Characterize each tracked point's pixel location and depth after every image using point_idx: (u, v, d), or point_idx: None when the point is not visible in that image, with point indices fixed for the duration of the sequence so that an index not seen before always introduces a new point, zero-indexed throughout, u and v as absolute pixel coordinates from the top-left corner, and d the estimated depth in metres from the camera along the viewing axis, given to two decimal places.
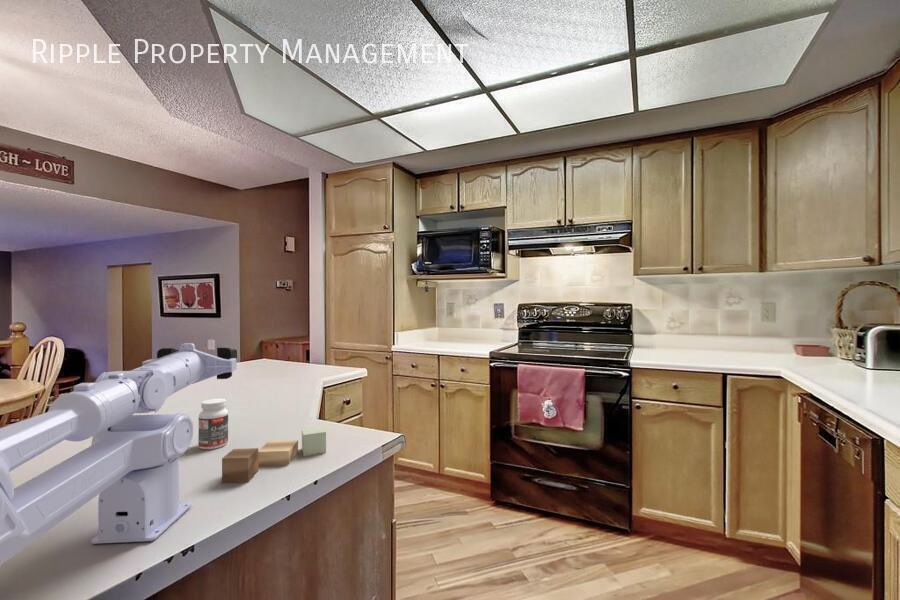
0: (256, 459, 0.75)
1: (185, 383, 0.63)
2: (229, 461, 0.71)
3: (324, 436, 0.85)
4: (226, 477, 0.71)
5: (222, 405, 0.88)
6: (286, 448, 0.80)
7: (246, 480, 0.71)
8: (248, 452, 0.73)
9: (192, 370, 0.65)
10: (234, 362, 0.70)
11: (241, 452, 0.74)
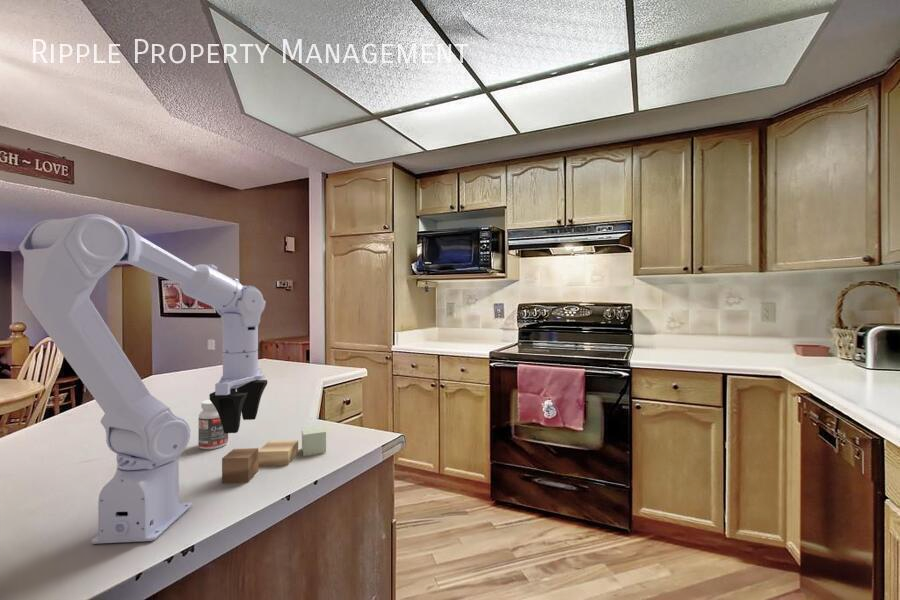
0: (256, 459, 0.75)
1: (244, 347, 0.71)
2: (229, 461, 0.71)
3: (324, 436, 0.85)
4: (226, 477, 0.71)
5: None
6: (286, 448, 0.80)
7: (246, 480, 0.71)
8: (248, 452, 0.73)
9: (235, 357, 0.70)
10: (224, 390, 0.66)
11: (241, 452, 0.74)
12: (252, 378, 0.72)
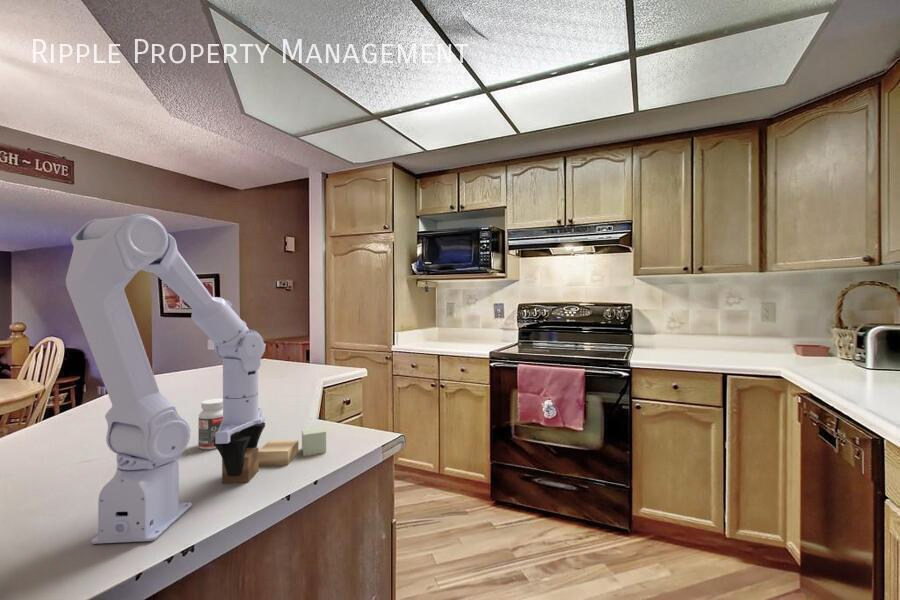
0: (256, 458, 0.75)
1: (244, 392, 0.71)
2: None
3: (324, 436, 0.85)
4: (226, 476, 0.71)
5: (222, 405, 0.88)
6: (286, 448, 0.80)
7: (246, 479, 0.71)
8: (248, 452, 0.73)
9: (235, 402, 0.70)
10: (224, 438, 0.66)
11: None
12: (252, 423, 0.72)
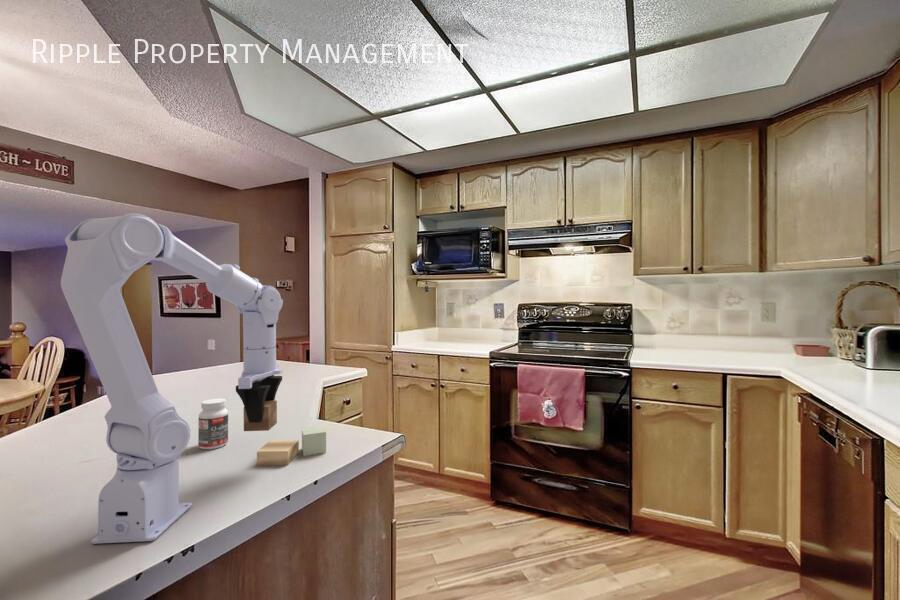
0: (275, 410, 0.79)
1: (264, 344, 0.75)
2: None
3: (324, 436, 0.85)
4: (247, 425, 0.75)
5: (222, 405, 0.88)
6: (286, 448, 0.80)
7: (266, 428, 0.75)
8: (267, 403, 0.77)
9: (256, 352, 0.74)
10: (246, 384, 0.70)
11: None
12: (271, 373, 0.76)
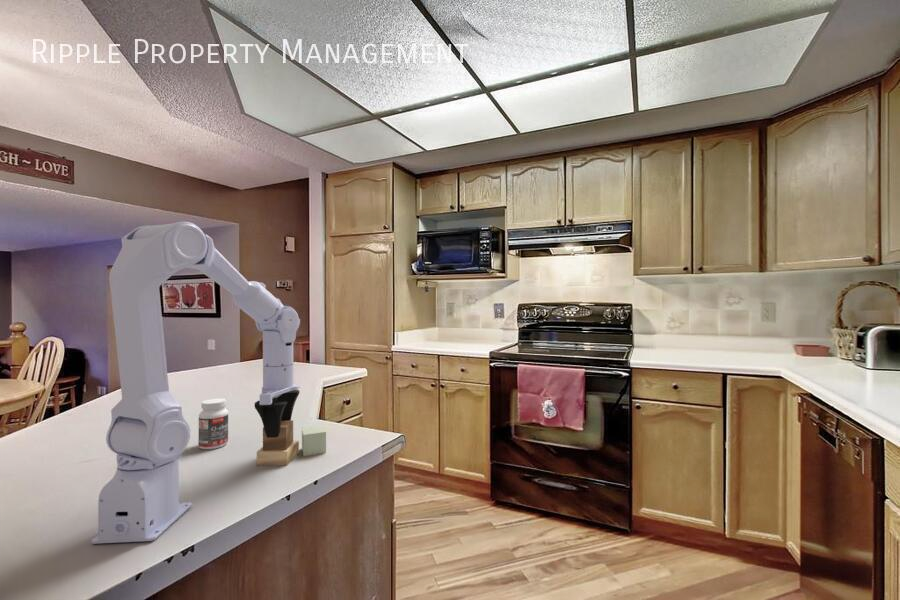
0: (291, 430, 0.83)
1: (282, 361, 0.79)
2: None
3: (324, 436, 0.85)
4: (266, 444, 0.79)
5: (222, 405, 0.88)
6: None
7: (284, 447, 0.79)
8: (285, 423, 0.81)
9: (275, 370, 0.79)
10: (267, 400, 0.74)
11: None
12: (289, 389, 0.80)
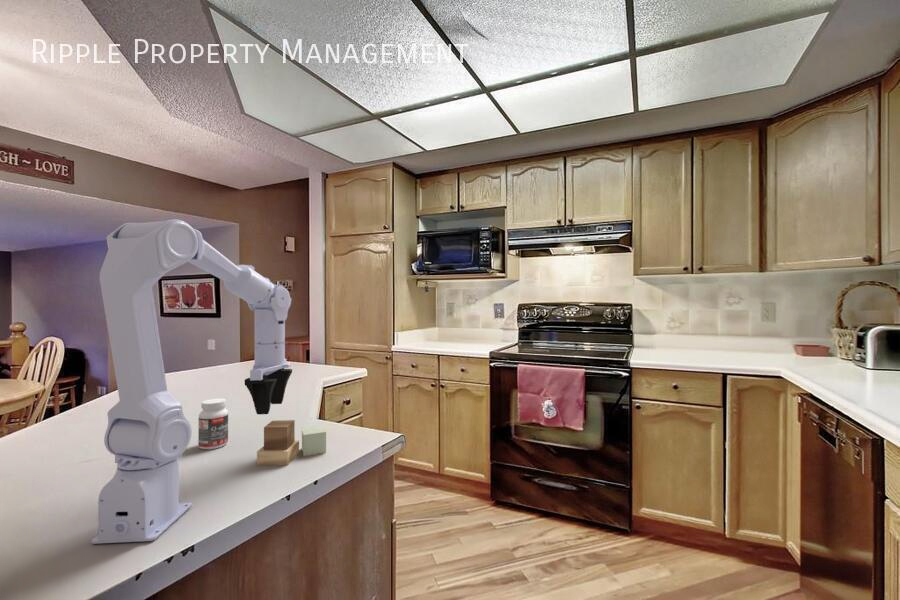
0: (293, 430, 0.83)
1: (275, 339, 0.81)
2: (270, 430, 0.79)
3: (324, 436, 0.85)
4: (267, 444, 0.79)
5: (222, 405, 0.88)
6: None
7: (285, 447, 0.79)
8: (286, 423, 0.82)
9: (266, 347, 0.80)
10: (257, 375, 0.75)
11: (280, 422, 0.82)
12: (280, 366, 0.81)
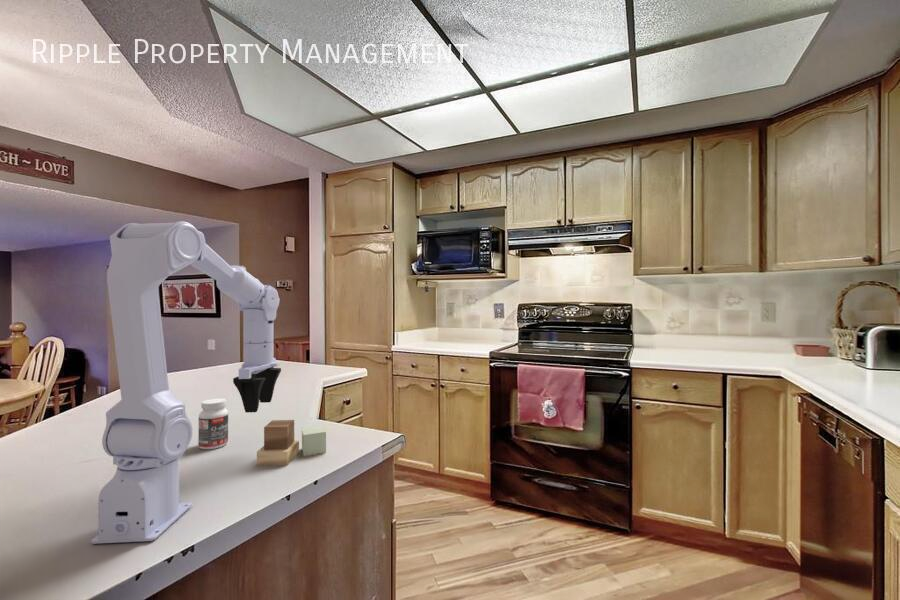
0: (292, 429, 0.83)
1: (265, 338, 0.82)
2: (270, 429, 0.79)
3: (324, 436, 0.85)
4: (268, 444, 0.79)
5: (222, 405, 0.88)
6: (285, 449, 0.80)
7: (285, 447, 0.80)
8: (286, 423, 0.82)
9: (255, 346, 0.81)
10: (246, 374, 0.77)
11: (280, 422, 0.82)
12: (269, 365, 0.83)
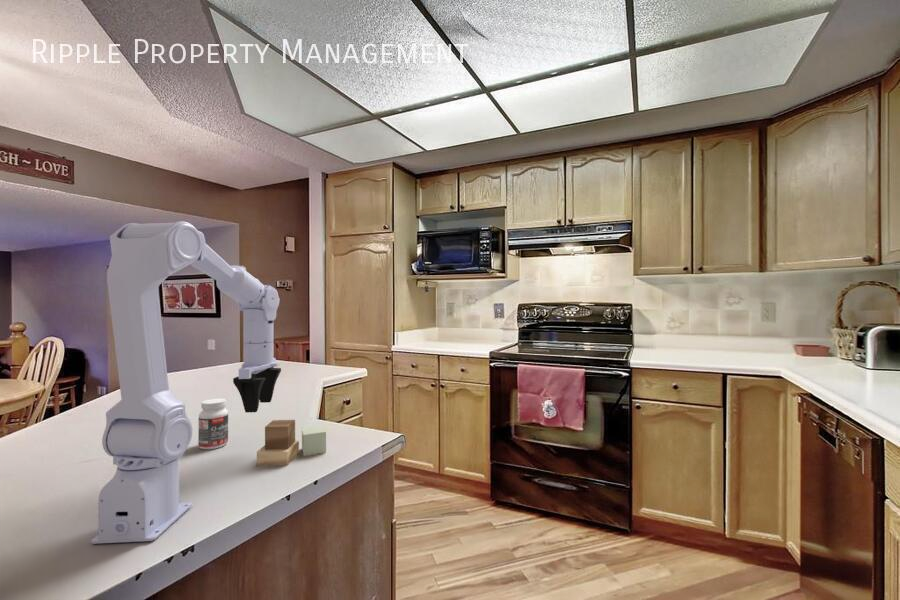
0: (293, 429, 0.83)
1: (265, 338, 0.82)
2: (271, 429, 0.79)
3: (324, 436, 0.85)
4: (268, 443, 0.79)
5: (222, 405, 0.88)
6: (285, 449, 0.80)
7: (286, 446, 0.80)
8: (287, 422, 0.82)
9: (255, 346, 0.81)
10: (246, 374, 0.77)
11: (280, 422, 0.82)
12: (269, 365, 0.83)
